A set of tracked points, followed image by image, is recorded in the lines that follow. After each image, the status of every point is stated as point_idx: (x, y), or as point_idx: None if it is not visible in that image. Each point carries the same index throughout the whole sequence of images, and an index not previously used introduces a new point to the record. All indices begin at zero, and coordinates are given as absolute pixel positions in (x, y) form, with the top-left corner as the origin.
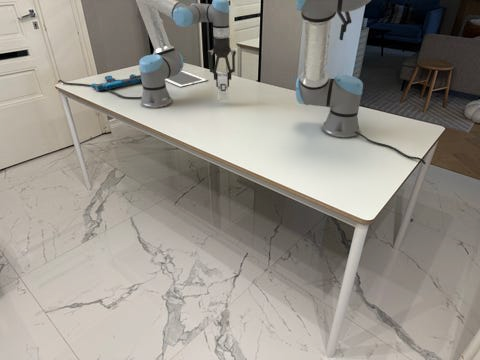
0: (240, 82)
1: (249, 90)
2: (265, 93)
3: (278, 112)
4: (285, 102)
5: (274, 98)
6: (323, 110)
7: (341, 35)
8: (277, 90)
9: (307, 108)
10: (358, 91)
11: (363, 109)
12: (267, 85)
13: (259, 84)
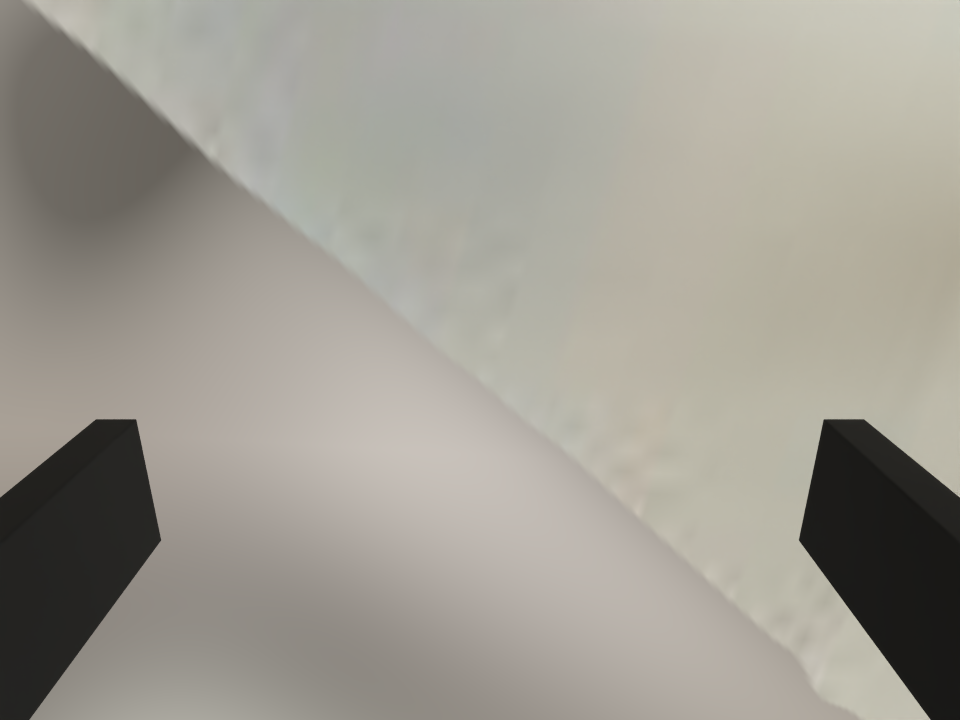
0: None
1: None
2: None
3: (874, 39)
4: (739, 268)
5: (796, 361)
6: (480, 57)
7: (80, 499)
8: (717, 522)
9: (602, 116)
10: None
11: (131, 55)
12: (757, 622)
13: (808, 644)
